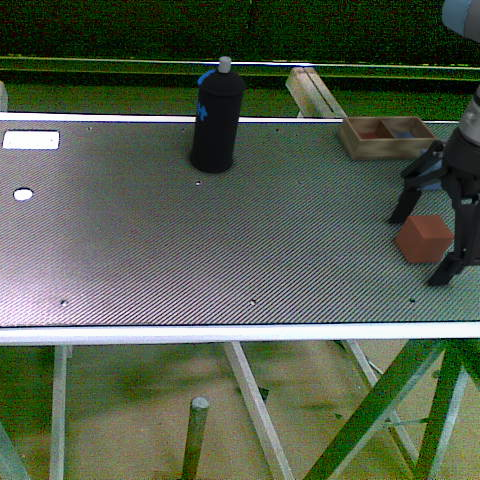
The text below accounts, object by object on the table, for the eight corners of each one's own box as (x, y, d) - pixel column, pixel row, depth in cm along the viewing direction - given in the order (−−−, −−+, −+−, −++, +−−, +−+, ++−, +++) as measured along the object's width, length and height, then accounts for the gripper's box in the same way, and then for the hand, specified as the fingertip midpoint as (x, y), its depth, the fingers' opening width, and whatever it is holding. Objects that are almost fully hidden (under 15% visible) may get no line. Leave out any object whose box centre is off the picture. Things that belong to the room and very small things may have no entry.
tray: (409, 134, 101) (418, 115, 97) (429, 158, 95) (439, 139, 91) (337, 135, 99) (343, 116, 96) (352, 159, 93) (360, 140, 90)
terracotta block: (423, 239, 78) (438, 214, 74) (438, 261, 74) (455, 237, 70) (394, 240, 77) (408, 215, 74) (408, 263, 74) (423, 238, 70)
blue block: (433, 172, 91) (447, 148, 87) (447, 189, 88) (461, 165, 84) (409, 173, 91) (421, 149, 87) (421, 190, 87) (435, 165, 83)
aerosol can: (235, 152, 93) (254, 52, 79) (228, 177, 88) (247, 73, 73) (195, 145, 95) (205, 45, 80) (185, 168, 89) (195, 65, 75)
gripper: (413, 88, 69) (363, 200, 84) (520, 199, 52) (432, 315, 67) (461, 88, 70) (403, 199, 85) (583, 198, 52) (482, 312, 67)
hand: (416, 250), depth 76 cm, fingers open, 13 cm apart
